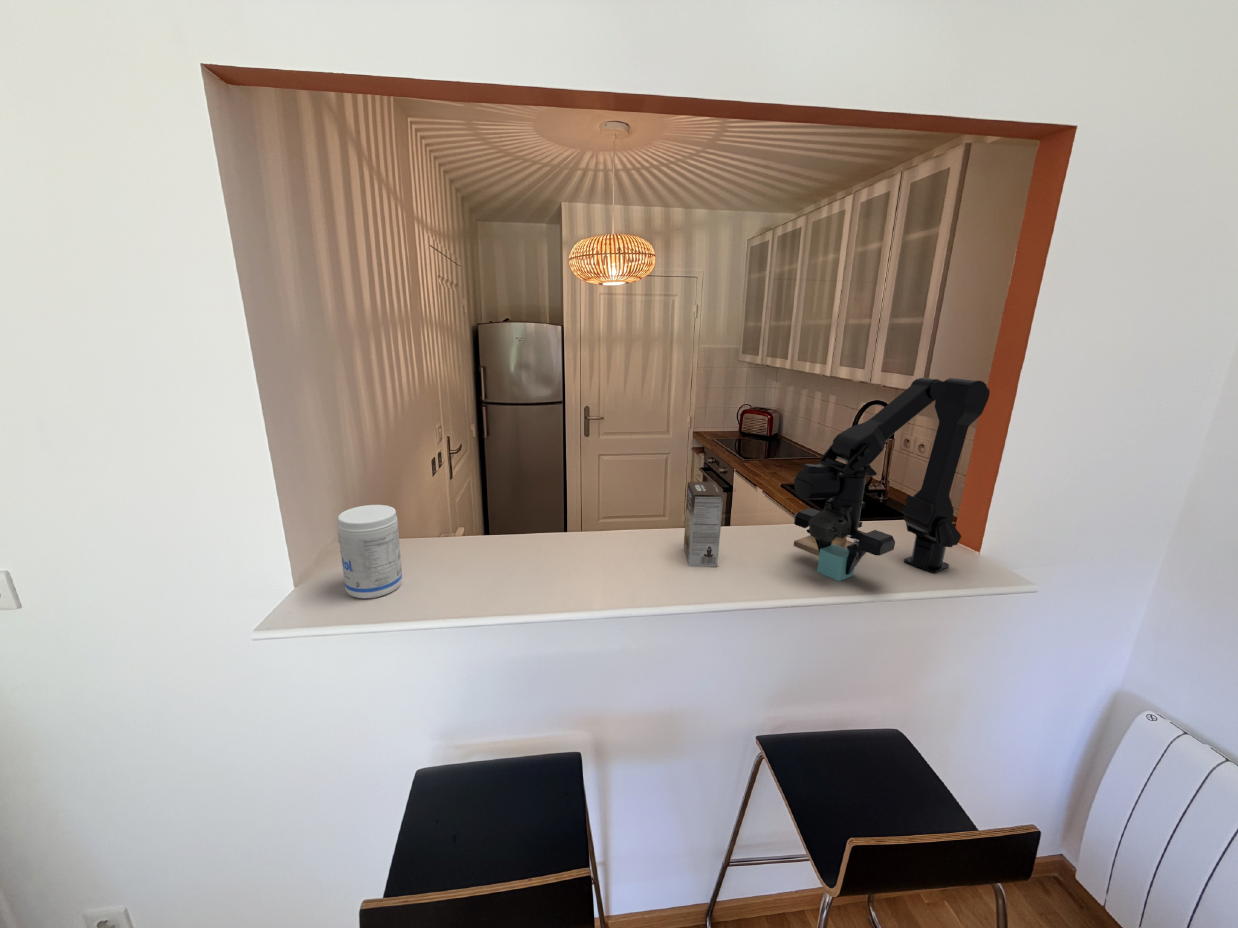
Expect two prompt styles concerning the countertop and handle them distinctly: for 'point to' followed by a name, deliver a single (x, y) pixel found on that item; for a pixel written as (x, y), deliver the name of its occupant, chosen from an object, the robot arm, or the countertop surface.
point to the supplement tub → (370, 550)
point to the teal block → (834, 562)
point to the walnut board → (812, 544)
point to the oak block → (837, 541)
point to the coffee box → (703, 523)
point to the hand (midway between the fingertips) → (835, 568)
